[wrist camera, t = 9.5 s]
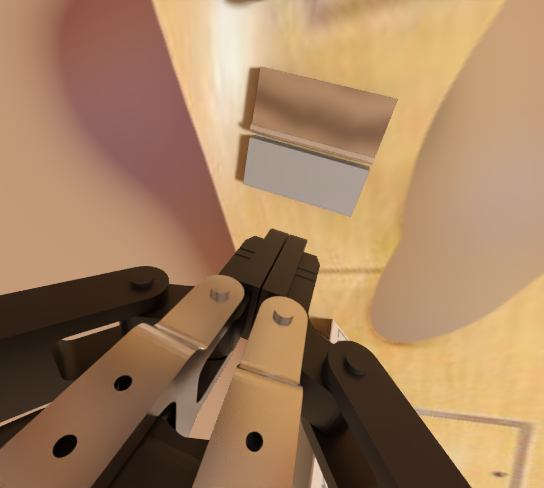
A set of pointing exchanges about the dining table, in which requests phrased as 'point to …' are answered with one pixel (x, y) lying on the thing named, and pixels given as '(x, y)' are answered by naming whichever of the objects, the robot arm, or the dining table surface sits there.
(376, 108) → the glossy brown slab
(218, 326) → the robot arm
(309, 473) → the brochure
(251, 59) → the dining table surface
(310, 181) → the slate plank
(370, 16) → the dining table surface
